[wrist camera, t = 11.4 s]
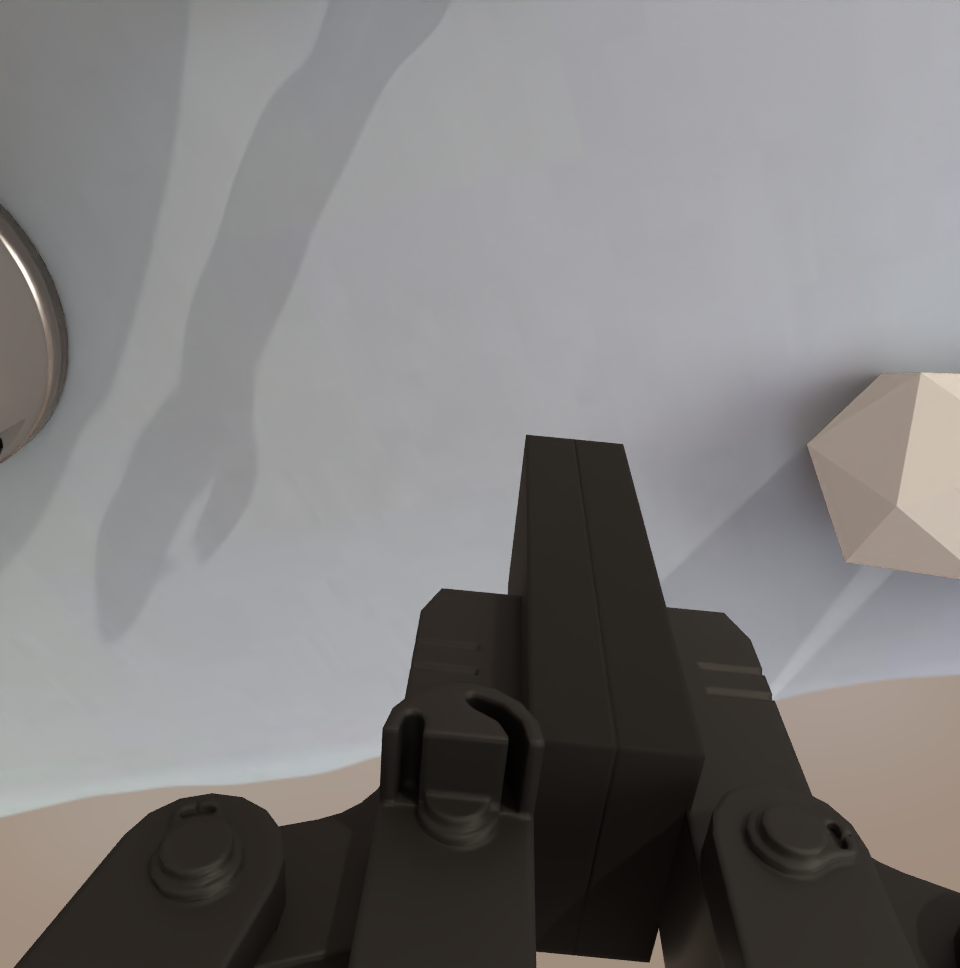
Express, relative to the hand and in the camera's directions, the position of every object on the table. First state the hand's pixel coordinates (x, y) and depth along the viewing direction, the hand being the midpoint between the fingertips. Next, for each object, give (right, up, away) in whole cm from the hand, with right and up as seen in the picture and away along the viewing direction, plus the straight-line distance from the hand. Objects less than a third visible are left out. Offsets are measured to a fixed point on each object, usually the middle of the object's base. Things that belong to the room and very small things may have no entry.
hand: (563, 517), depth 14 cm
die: (+17, +3, +25) cm, 31 cm away
